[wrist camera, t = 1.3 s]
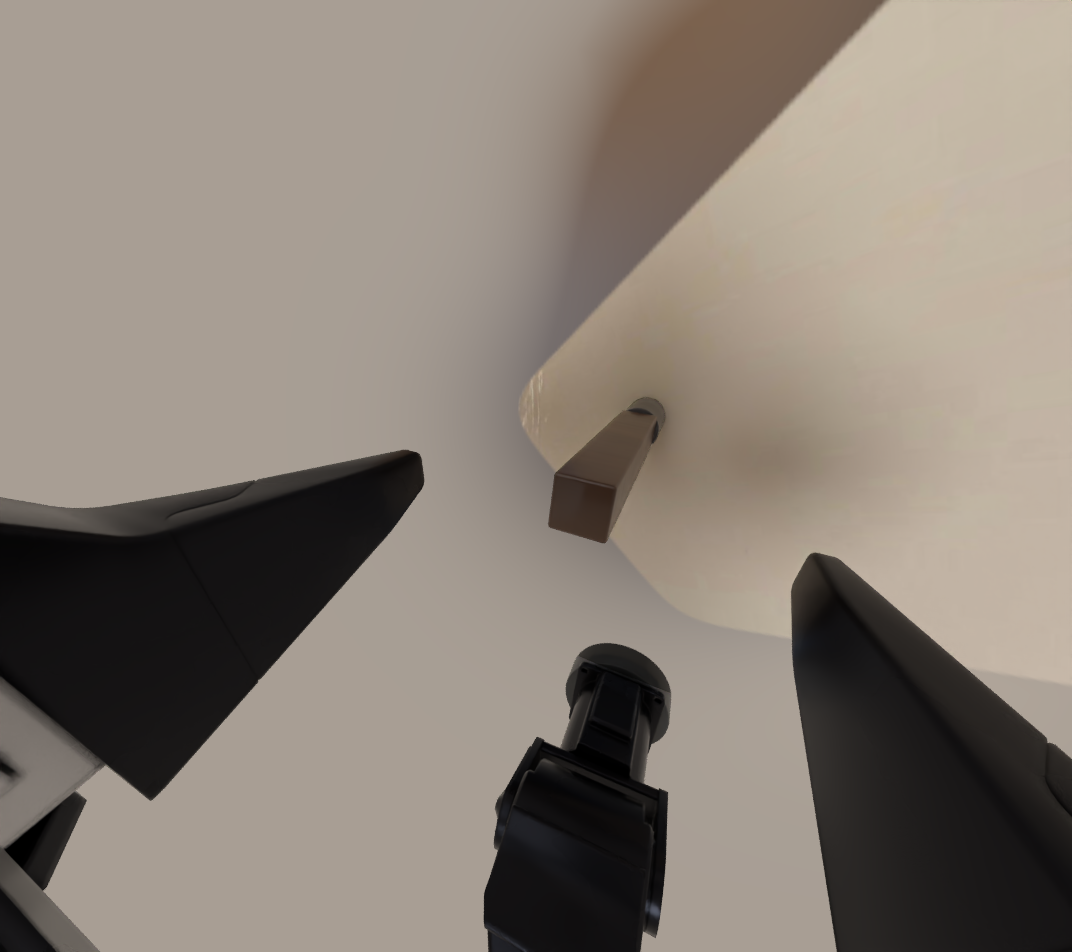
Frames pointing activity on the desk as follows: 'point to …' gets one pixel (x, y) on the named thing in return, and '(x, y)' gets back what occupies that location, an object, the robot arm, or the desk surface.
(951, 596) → the desk surface
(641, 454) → the brown lever handle
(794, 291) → the desk surface
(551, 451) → the desk surface
